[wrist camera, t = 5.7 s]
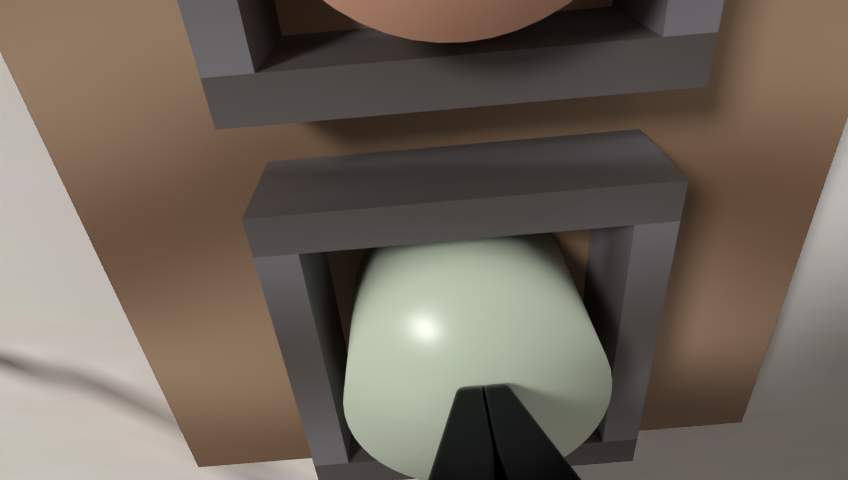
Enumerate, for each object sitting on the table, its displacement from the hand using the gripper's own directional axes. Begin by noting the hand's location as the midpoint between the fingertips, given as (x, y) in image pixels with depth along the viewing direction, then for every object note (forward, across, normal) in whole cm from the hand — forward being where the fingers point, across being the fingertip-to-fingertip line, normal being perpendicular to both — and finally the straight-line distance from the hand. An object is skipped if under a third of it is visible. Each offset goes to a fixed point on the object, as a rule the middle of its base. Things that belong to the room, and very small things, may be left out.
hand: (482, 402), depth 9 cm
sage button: (+3, 0, 0) cm, 3 cm away
